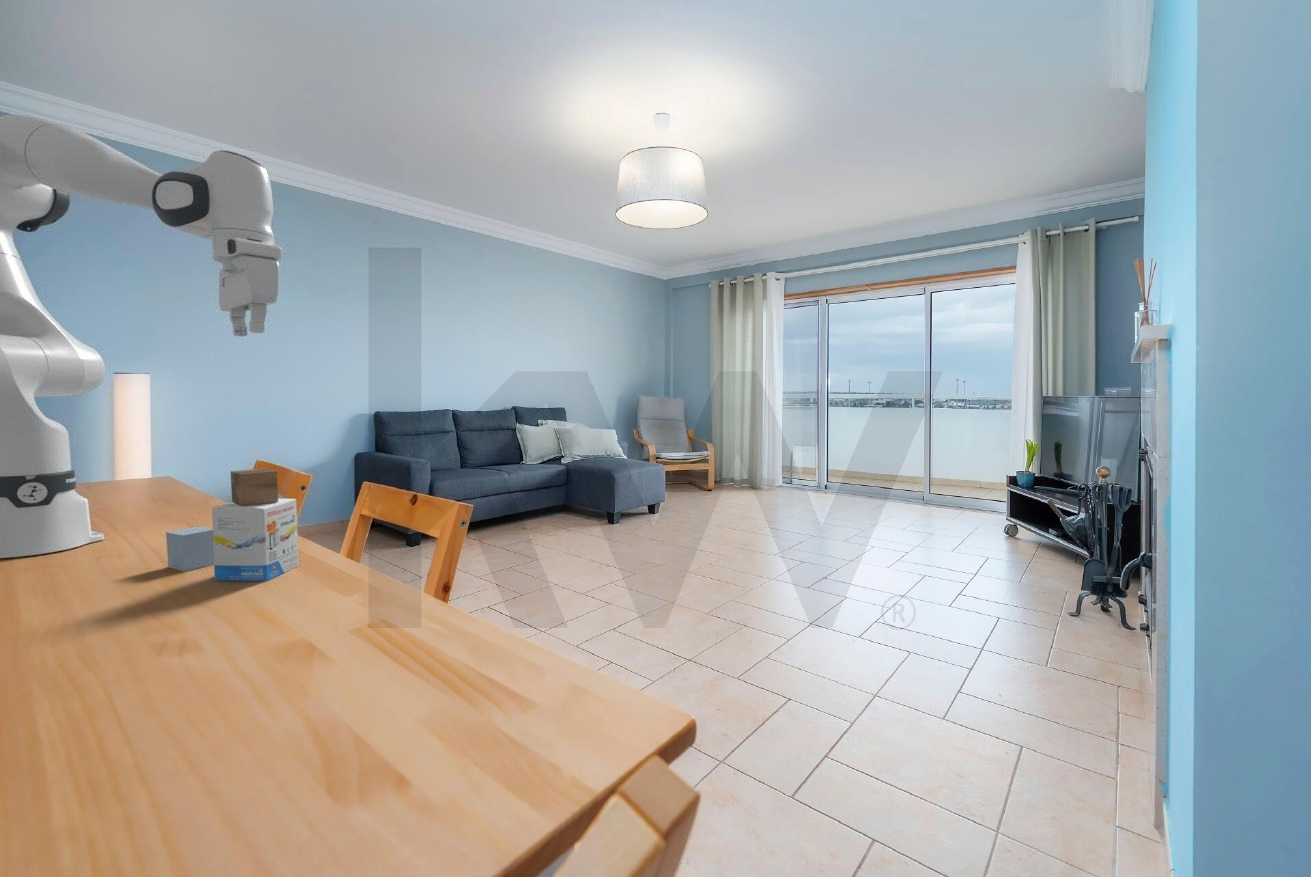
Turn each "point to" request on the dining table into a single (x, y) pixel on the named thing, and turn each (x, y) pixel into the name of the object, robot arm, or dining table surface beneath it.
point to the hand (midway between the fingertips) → (248, 334)
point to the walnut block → (254, 486)
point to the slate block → (190, 548)
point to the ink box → (255, 540)
